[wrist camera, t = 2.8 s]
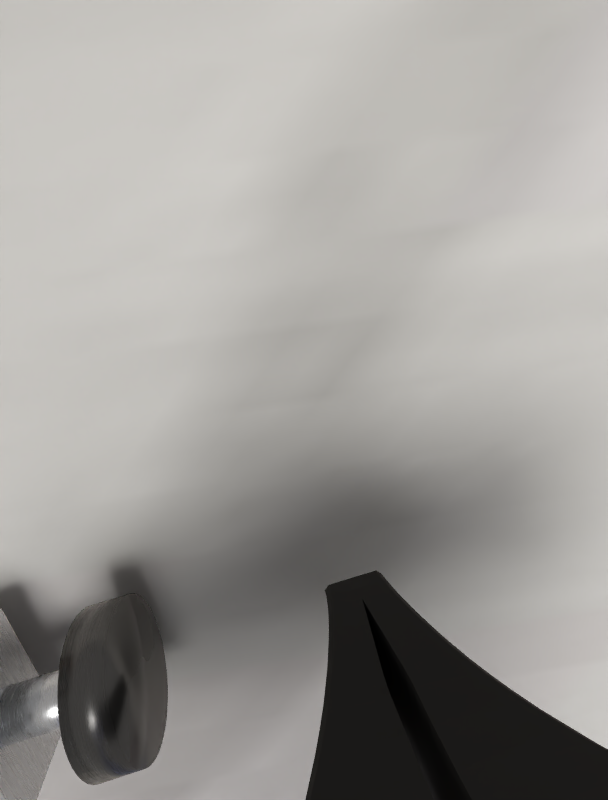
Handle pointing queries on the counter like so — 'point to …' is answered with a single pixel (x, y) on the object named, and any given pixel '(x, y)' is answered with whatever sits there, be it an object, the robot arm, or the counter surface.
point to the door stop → (84, 699)
